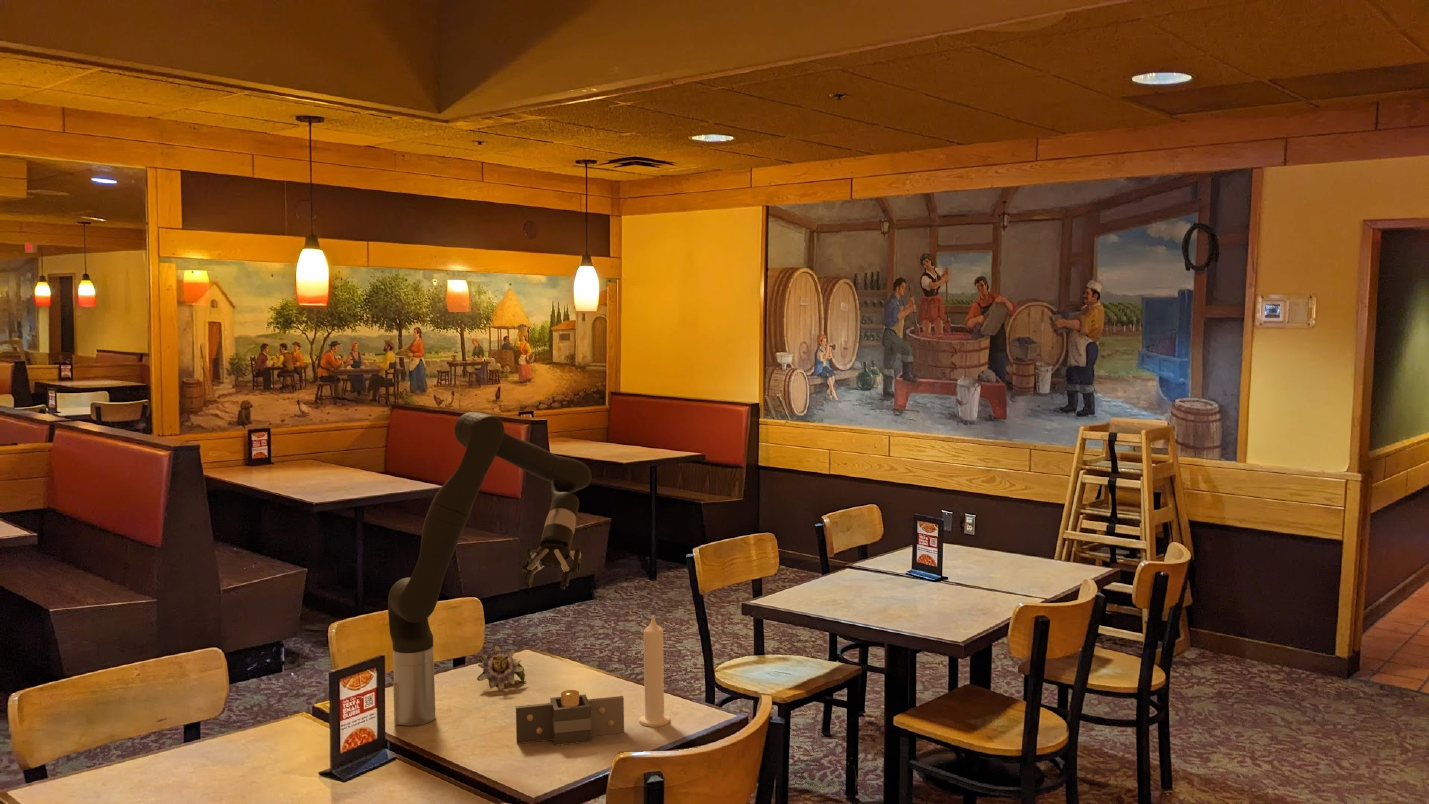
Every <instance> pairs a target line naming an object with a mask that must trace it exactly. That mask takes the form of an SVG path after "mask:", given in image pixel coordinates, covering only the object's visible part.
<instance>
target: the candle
mask: <svg viewBox="0 0 1429 804" xmlns="http://www.w3.org/2000/svg"><path fill="white" fill-rule="evenodd" d="M650 619H651V621H650V622H649V623H650V624H649V625H648V626H647V627H645V628H643V671H644V672H643V675H644V677H643V679H644V681H643V683H644V686H643V687H644V690H643V691H644V714H642V715H641V716H640V717H639V718H638V719H639V724H641V725H642V726H644V725H645V727H653V728H657V727H662V726H666V725H668V724H669V723H670V721H671V720H670V719H671V717H670V716H669V715H668V714H665V679H664V678H665V677H664V673H665V671H664V662H665V661H664V630H663V628H662V627H661V626H659V625H658V624H657V622H656V618H655V615H651V618H650Z"/></svg>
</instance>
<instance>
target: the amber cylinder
mask: <svg viewBox="0 0 1429 804" xmlns="http://www.w3.org/2000/svg"><path fill="white" fill-rule="evenodd" d="M579 695H580V692H579V690H575V689H568V690H564V691H562V692H561V693H560V697H561V708H563V707H573V706H579Z"/></svg>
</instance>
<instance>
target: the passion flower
mask: <svg viewBox="0 0 1429 804" xmlns="http://www.w3.org/2000/svg"><path fill="white" fill-rule="evenodd" d="M514 655H515V650H510V651H508V652H506V653H505V651H504V652H503V650H501V649H500V647H499V646H498V645H496V646H495V647H494V649H493V651H492V652H490V654H487V655H485V654H482V655H481V658H480V657H479V656H478V657H477V658H478V659H477V660H478V661H479V664H477V665H478V667H480V668H481V669H483V671H482V673H480V674H479V675H478V676H477V678H476V680H477V681H478V682H481V681H482V682H483V681H484V680H486V679H487V680H488V686H489V688H490V689H493V688H494V687H496V688H497V690H498V691H499V692H502V691H503V689H504V687H505V683H506V682H507V683H509V684H510V685H515V682H516V679H515V675H516V676H517V677H518V678H519V679H520V681H521V682H522V683H524V682H525V680H526V678H525V677H526V674H525V668H524V667H523V665H522V664H521V662H522V660H521V659H520V658H514Z"/></svg>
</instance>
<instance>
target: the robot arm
mask: <svg viewBox="0 0 1429 804" xmlns="http://www.w3.org/2000/svg"><path fill="white" fill-rule="evenodd" d="M453 429H454V436H455V439H456V441H457V442H458V443H459V444H460V445H461V446H463V447H464V448H466V449H465V452H464V455H463V457H462V460H461V461H460V463H459V466H458V467H457V468H456V470H455V472H453V474H452V475H451V476H450V477H449V478H448V479H447V480H446V481H445V483H443V484H442V486H441V487H440V488H439V489H438V490H437V492H436V493H435V495H434V496H433V499H432V501H431V503H430V505H429V508H428V510H427V513H426V516H425V517H424V518H425V519H424V522H423V525H422V526H423V527H422V533H421V541H420V550H419V555H418V560H417V562H416V564H415V567H414V570H413V571H412V574H411V576H410V577H404V578H401V579H399V580H398V581H396V582H395V583H394V584H392V586H391V588H390V590H389V592H388V593H389V594H388V597H387V608H388V609H387V614H388V627H389V628H388V629H389V636H390V639H391V643H392V665H393V671H392V672H393V685H392V687H393V690H392V691H393V715H394V717H393V718H394V720H393V721H394V726H407V727H408V726H409V727H410V726H411V727H412V726H420V725H425V724H428V723H431V722H432V721H434V720H435V719H436V689H435V686H436V685H435V682H436V681H435V659H434V657H435V655H434V654H435V653H434V634H433V632H432V630H431V627H430V624H429V618H430V616H431V615H433V612H434V611H435V609H436V606H437V604H438V601H439V597H440V593H441V589H442V587H443V583H444V580H445V576H446V574H447V571H448V568H449V565H450V562H451V560H452V558H453V555H454V553H455V551H456V548H457V546H458V543H459V541H460V538H461V536H462V534H463V532H464V529H465V527H466V524H467V521H468V519H469V517H470V514H471V511H472V508H473V506H474V503H475V501H476V498H477V496H478V495H479V494H478V493H479V491H480V489H481V486H482V484H483V482H484V479H485V477H486V476H487V473H488V471H489V469H490V467H491V466H492V463H493V461H494V460H495V458H496V457H497V458H500V459H501V460H504V461H506V462H508V463H510V464H512V465H514V467H515V466H516V467H517V468H519V469H521V470H522V471H525V472H527V473H529V474H531V475H533V476H535V477H537V478H540V479H541V480H544V481H548V482H549V481H550V489H551V503H550V507H549V512H548V514H547V516H546V520H545V522H544V527H543V529H542V530H543V531H542V535H541V537H540V538H541V539H540V544H539V547H538V548H537V549H531V547H530V546H527V547H526V548H525V551H524V553H523V556H522V560H521V563H520V568H521V571H522V573H523V574H525V573H526V574H525V576H524V584H525V586H526V588H527V589H531V588H532V586H533V585H532V584H533V581H534V577H535V574H536V572H538V571H541V570H542V569H543V568H555V569H557V568H558V567H560V568H561V569H562V571H563V572H562V574H561V579H560V588H561V590H566V588H567V587H568V586H569V583H570V579H571V576H573V575H576V576H577V575H579V574H580V568H581V561H582V558H583V557H582V553H581V550H580V548H575V550H571V546H572V543H573V538H574V534H575V531H576V524H577V517H578V512H579V507H580V500H579V498H578V496H577V495H576V494H574V493H576V492H578V491H580V490H582V489H585V488H586V487H588V486H589V485H590V484H591V482H592V477H593V475H592V472H591V469H590V468H589V467H588V465H587V464H585V463H584V462H582V461H580V460H578V459H575V458H570V457H565V456H560V455H557V454H555V453H552V452H550V451H549V450H547V449H545V448H542V447H541V446H540V445H539V446H538V445H536V444H534V443H531V442H528V441H526V440H524V439H521V438H518V437H515V436H514V435H511V434H509V433H507V432H505V426H504V424H503V421H502V420H501V418H499V417H497V416H495V415H492V414H488V413H483V412H479V411H470V412H466V413H464V414H462V415H461V416H459V418H458V419H457V420H456V422H455V425H454V428H453ZM535 556H536V557H535ZM570 558H572V560H573V561H572V566H571V567H569V566H568V563H567V561H568V560H569V559H570ZM532 560H533V561H532ZM531 561H532V562H531Z"/></svg>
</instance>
